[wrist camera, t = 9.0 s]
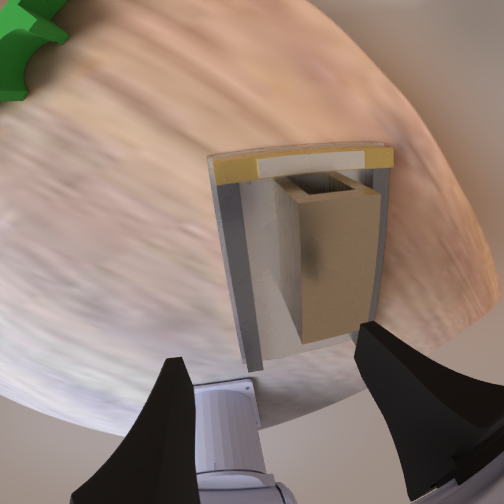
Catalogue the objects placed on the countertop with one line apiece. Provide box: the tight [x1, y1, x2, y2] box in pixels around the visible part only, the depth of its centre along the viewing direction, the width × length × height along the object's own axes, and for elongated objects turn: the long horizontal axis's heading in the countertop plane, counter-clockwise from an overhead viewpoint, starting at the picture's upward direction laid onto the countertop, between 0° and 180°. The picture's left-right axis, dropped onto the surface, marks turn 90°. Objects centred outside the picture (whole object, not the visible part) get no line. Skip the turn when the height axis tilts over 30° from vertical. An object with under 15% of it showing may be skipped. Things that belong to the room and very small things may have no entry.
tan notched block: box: [273, 172, 381, 345], centre depth 16 cm, size 8×4×5 cm, turn 7°
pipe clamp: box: [0, 0, 70, 101], centre depth 9 cm, size 11×4×5 cm, turn 134°
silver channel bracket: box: [207, 142, 394, 372], centre depth 19 cm, size 16×11×3 cm
